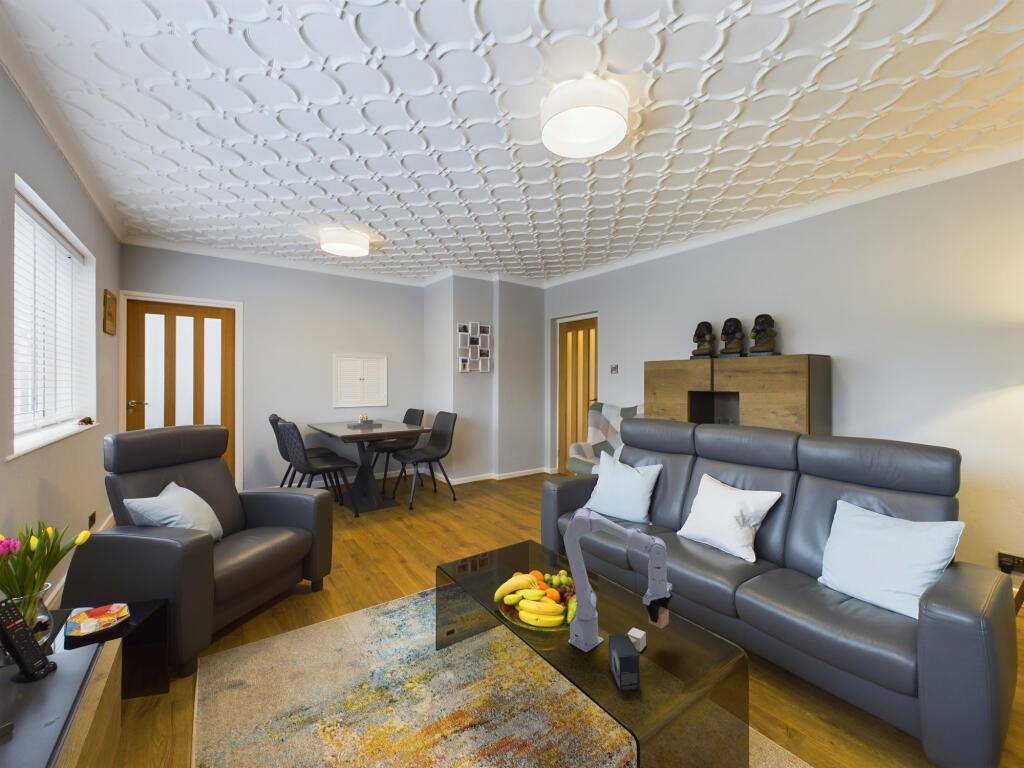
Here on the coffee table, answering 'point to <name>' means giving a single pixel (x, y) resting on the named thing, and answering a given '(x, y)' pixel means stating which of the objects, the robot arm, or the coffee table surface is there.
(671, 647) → the coffee table surface
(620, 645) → the small box
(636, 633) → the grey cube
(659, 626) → the terracotta cube
